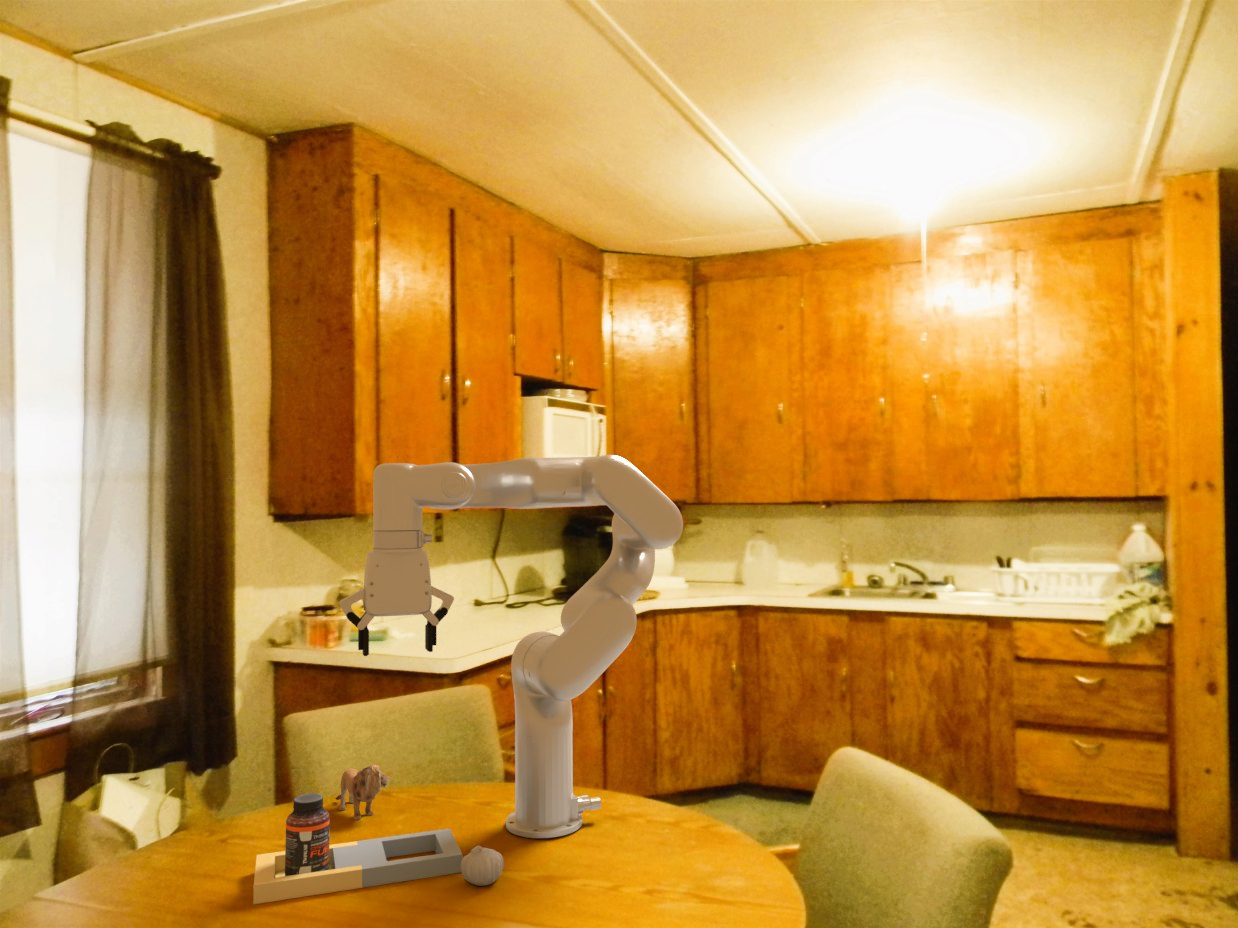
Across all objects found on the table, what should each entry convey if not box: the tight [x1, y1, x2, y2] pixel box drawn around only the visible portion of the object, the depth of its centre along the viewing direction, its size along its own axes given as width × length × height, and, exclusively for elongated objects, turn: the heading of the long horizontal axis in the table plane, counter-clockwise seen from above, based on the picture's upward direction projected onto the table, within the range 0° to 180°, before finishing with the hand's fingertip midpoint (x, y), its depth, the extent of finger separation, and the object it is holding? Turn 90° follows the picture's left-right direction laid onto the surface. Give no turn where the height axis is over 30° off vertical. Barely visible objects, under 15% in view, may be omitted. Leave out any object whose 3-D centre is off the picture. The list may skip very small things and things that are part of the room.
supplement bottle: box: [284, 793, 331, 876], centre depth 125 cm, size 6×6×11 cm
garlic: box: [460, 845, 504, 887], centre depth 124 cm, size 6×5×5 cm
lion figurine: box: [335, 764, 391, 821], centre depth 153 cm, size 15×5×9 cm, turn 47°
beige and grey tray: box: [252, 828, 464, 905], centre depth 127 cm, size 28×11×2 cm, turn 110°
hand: (397, 652), depth 136 cm, fingers open, 9 cm apart
